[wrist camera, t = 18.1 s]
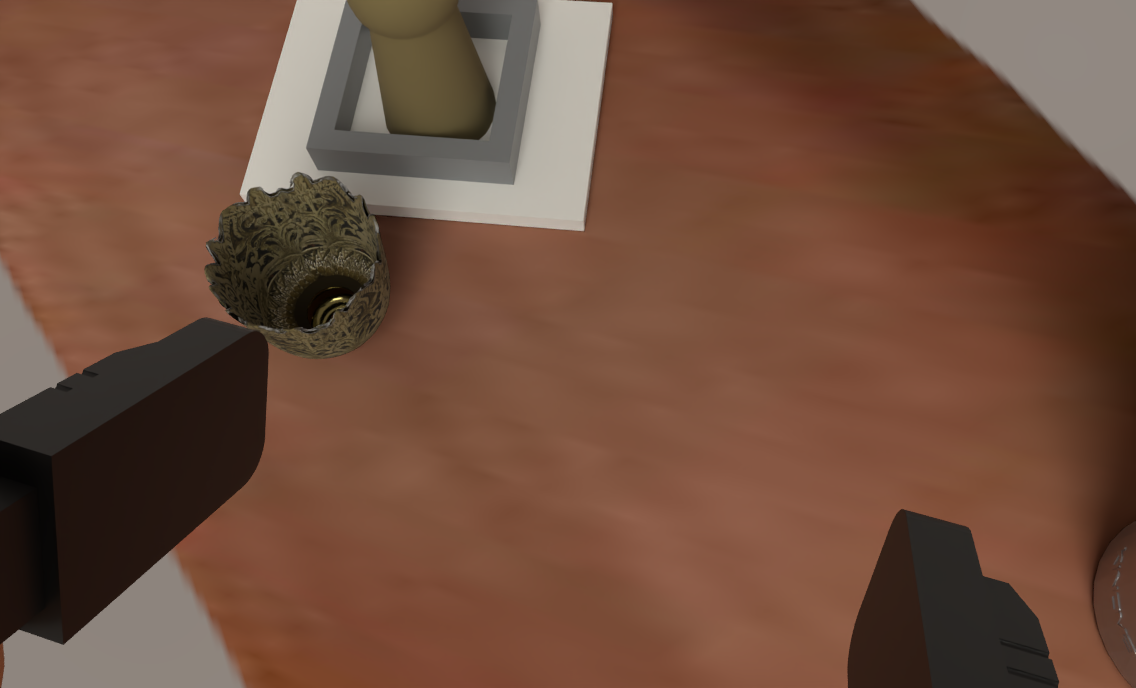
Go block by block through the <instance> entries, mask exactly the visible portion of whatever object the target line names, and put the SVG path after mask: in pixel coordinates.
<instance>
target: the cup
mask: <svg viewBox="0 0 1136 688" xmlns="http://www.w3.org/2000/svg"><path fill="white" fill-rule="evenodd" d="M290 180H291V181H290V183H291V184H290V187H291V186H292V185H293V187H291V188H290V187H289V188H288V189H285V188H278V189H277V190H276V192H274V193H271V194H269V193H267V192H265V191H264V190H263V188H262V187H260V186H259V187H254V188H251V189H249V190H248V192H247V196H246V202H238V203H235V204H233V205H231V206H229V207H227V208H226V209H225V210H223V211H222V212H221V214H220V219H219V228H218V229H219V237H218V240H219V241H218V240H216V241H215V240H214V239H215V238H213V239H212V240H209V241H208V242H206V248H207V250H208V251H209V253H210V254H211V256H212V257H213V259H214V261H215V262H216V263H210V264H208V265H206V266H205V275H206V278H207V280H208V282H210V283H211V284H212V285H210V286H209V289H210V290H211V292H212V293H213V294H214V295H215V297H216V298H217V299H218V300H219V302H220V304H221V305H222V306H223V307H225V308H226V310H225V311H226V312H227V313H228V314H229V315H230V316H231V317H233V318H234V319H236V320H237V321H239V322H240V323H242V324H243V325H244V326H246V327H247V328H249V329H252V330H255V331H259V332H261V333H262V334H263V335H264V336H265V338H266V340H267V342H269V343H270V344H272V345H274V346H275V347H277V348H279V349H281V350H283V351H285V352H287V353H290V354H293V355H296V356H299V357H303V358H310V359H325V358H332V357H337V356H340V355H343V354H346V353H348V352H350V351H353V350H355V349H357V348H358V347H360V346H361V345H362V344H363V343H365V342H366V341H367V340H368V339H369V338H370V337H371V336H372V335H373V334H374V333H375V331H376V330H377V329H378V327H379V326H380V324H381V322H382V320H383V318H384V316H385V314H386V311H387V308H388V304H389V298H390V277H389V270H388V265H387V260H386V256H385V252H384V248H383V244H382V240H381V237H380V232H379V226H378V223H377V220H376V218H375V216H374V214H371V215H370V213H369V210H368V208H367V205H366V202H365V199H364V198H363V196H361V195H360V194H359V195H357V196H356V195H355V196H353V195H352V194H351V192H350V191H349V190H348V189H347V187H346V186H345V185H344V184H343V183H341V182H340V181H339V180H338V179H337V178H335V177H333V176H324V177H321V178H318V179H315V180H313V179H312V178H311V177H310V176H309V175H307V174H304V173H301V172H296V173H295V174H293V175H292V178H291V179H290ZM334 312H335V313H334ZM333 313H334V315H333V318H331V319H330V321H329V322H327V321H328V319H329V317H330V316H331V315H332V314H333Z"/></svg>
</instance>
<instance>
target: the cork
mask: <svg viewBox="0 0 1136 688" xmlns="http://www.w3.org/2000/svg"><path fill="white" fill-rule="evenodd" d="M458 1H459V0H347V2H348V5H349V6H350V8H351V9H352V11H353V12H354V14H355V16H356V17H357V18H358V20H359V21H360V22H361V23H362V24H363V25H364V26H365V27H367V28H368V29H369V31H370V36H371V42H372V48H373V53H374V59H375V65H376V70H377V76H378V82H379V87H380V93H381V99H382V104H383V110H384V116H385V122H386V127H387V129H388V131H389V133H390V134H400V135H414V136H428V137H442V138H456V139H470V140H480V139H481V138H482V137H483V136H484V135H485V134H486V133H487V131H488V129H489V128H490V126H491V124H492V122H493V117H494V112H495V106H496V100H495V96H494V91H493V88H492V86H491V84H490V81H489V79H488V77H487V74H486V72H485V70H484V67H483V65H482V63H481V60H480V58H479V56H478V53H477V51H476V48H475V46H474V44H473V41H472V39H471V37H470V34H469V32H468V30H467V27H466V25H465V23H464V20H463V18H462V16H461V13H460V11H459V8H458V6H457V5H458Z"/></svg>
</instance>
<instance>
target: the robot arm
mask: <svg viewBox="0 0 1136 688" xmlns="http://www.w3.org/2000/svg"><path fill="white" fill-rule="evenodd" d="M268 356H269V355H268V343H267V340H266V338H265V336H264V335H263V334H262V333H261V332H259V331H255V330H252V329H248V328H244V327H241V326H237V325H233V324H230V323H226V322H222V321H219V320H215V319H211V318H201V319H199V320H197V321H195V322H193V323H191V324H189V325H188V326H186V327H184V328H182V329H180V330H179V331H177V332H175V333H173V334H171V335H169V336H168V337H166V338H164V339H162V340H160V341H159V342H155V343H151V344H147V345H143V346H140V347H136V348H132V349H128V350H124V351H120V352H116V353H114V354H112V355H110V356H108V357H106V358H104V359H102V360H101V361H99V362H97V363H95V364H93V365H91V366H89V367H87V368H85V369H84V370H83V373H82V374H78V373H76V374H74V375H72V376H70V377H69V378H67V379H65V380H63V381H61V382H59V383H57V387H56V388H55V389H54V388H48V389H46V390H44V391H42V392H40V393H39V394H37V395H35V396H33V397H31V398H29V399H28V400H25V401H24V402H22V403H20V404H18V405H16V406H14V407H13V408H11V409H9V410H7V411H5V412H3V413H1V414H0V688H1V685H2V678H3V672H4V650H3V642H4V641H5V640H6V639H7V638H9V637H10V636H11V635H12V634H13V633H15V632H16V631H17V630H22V631H25V632H28V633H31V634H34V635H37V636H39V637H42V638H45V639H48V640H51V641H54V642H57V643H60V644H63V645H64V644H65V643H66V642H67V641H68V640H69V639H70V638H72V637H73V636H74V635H75V634H76V633H77V632H78V631H79V630H81V629H82V628H83V627H84V626H85V625H86V624H87V623H89V622H90V621H91V620H92V619H93V618H94V617H95V616H97V614H99V613H100V612H101V611H102V610H103V609H104V608H106V607H107V606H108V605H109V604H110V603H111V602H112V601H113V600H115V599H116V598H117V597H118V596H119V595H120V594H122V593H123V592H124V591H125V590H126V589H127V588H128V587H129V586H130V585H132V584H133V583H134V582H135V581H136V580H137V579H138V578H140V577H141V576H142V575H143V574H144V573H145V572H146V571H147V570H149V569H150V568H151V567H152V566H153V565H154V564H155V563H157V562H158V561H159V560H160V559H161V558H162V557H164V556H165V555H166V554H167V553H168V552H169V551H170V550H171V549H173V548H174V547H175V546H176V545H177V544H178V543H179V542H181V541H182V540H183V539H184V538H185V537H186V536H187V535H189V534H190V533H191V532H192V531H193V530H194V529H195V528H196V527H198V526H199V525H200V524H201V523H202V522H203V521H204V520H206V519H207V518H208V517H209V516H210V515H211V514H212V513H213V512H215V511H216V510H217V509H218V508H219V507H220V506H221V505H223V504H224V503H225V502H226V501H227V500H228V499H229V498H231V497H232V496H233V495H234V494H235V493H236V492H237V491H238V490H240V489H241V488H242V487H243V486H244V485H245V484H246V483H247V482H248V480H249V479H250V478H251V476H252V475H253V473H254V471H255V470H256V468H257V465H258V463H259V461H260V458H261V455H262V451H263V447H264V442H265V425H266V402H267V379H268ZM1094 610H1095V615H1096V620H1097V625H1098V630H1099V632H1100V635H1101V637H1102V640H1103V642H1104V645H1105V647H1106V650H1107V652H1108V654H1109V656H1110V657H1111V659H1112V660H1113V662H1114V664H1115V665H1116V667H1117V668H1118V670H1119V671H1120V673H1121V675H1122V676H1123V677H1124V678H1125V679H1126V681H1127V682H1128V683H1129V684H1130V685H1131V686H1132V687H1133V688H1136V521H1135V522H1133V523H1131V524H1130V525H1128V526H1126V527H1125V528H1123V529H1122V531H1121V532H1120V533H1119V534H1118V535H1117V536H1116V537H1115V538H1114V539H1113V540H1112V541H1111V542H1110V543H1109V545H1108V547H1107V549H1106V550H1105V552H1104V554H1103V556H1102V558H1101V559H1100V561H1099V565H1098V569H1097V573H1096V577H1095V581H1094ZM1048 656H1049V650H1048V647H1047V644H1046V641H1045V638H1044V635H1043V632H1042V629H1041V626H1040V623H1039V620H1038V618H1037V617H1036V615H1035V614H1034V613H1033V612H1032V611H1031V609H1030V608H1029V607H1028V606H1027V605H1026V603H1025V602H1024V601H1023V600H1022V599H1021V598H1020V596H1019V595H1018V594H1017V593H1016V592H1015V590H1014V589H1013V588H1012V587H1011V586H1010V584H1009V583H1005V582H1002V581H998V580H995V579H991V578H988V577H984V576H983V575H982V571H981V568H980V564H979V560H978V556H977V553H976V549H975V545H974V541H973V537H972V534H971V531H970V529H969V528H968V527H966V526H962V525H959V524H955V523H951V522H948V521H944V520H940V519H937V518H933V517H929V516H926V515H922V514H918V513H915V512H911V511H907V510H904V509H901V510H900V511H899V512H898V513H897V514H896V516H895V518H894V520H893V522H892V524H891V527H890V529H889V532H888V534H887V537H886V540H885V543H884V545H883V548H882V551H881V553H880V556H879V559H878V561H877V564H876V567H875V570H874V572H873V575H872V578H871V580H870V583H869V586H868V589H867V591H866V594H865V597H864V599H863V602H862V605H861V608H860V610H859V613H858V616H857V619H856V622H855V626H854V630H853V634H852V638H851V643H850V649H849V657H848V688H1058V683H1059V680H1058V677H1057V674H1056V671H1055V668H1054V665H1053V662H1052V660H1051V659H1048Z"/></svg>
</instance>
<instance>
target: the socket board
mask: <svg viewBox="0 0 1136 688" xmlns="http://www.w3.org/2000/svg"><path fill="white" fill-rule="evenodd" d="M457 6H458V8H459V11H460V13H461V16H462V18H463V20H464V23H465V25H466V27H467V30H468V32H469V34H470V37H471V39H472V41H473V44H474V46H475V48H476V51H477V53H478V56H479V58H480V60H481V63H482V65H483V67H484V70H485V72H486V74H487V77H488V79H489V81H490V84H491V86H492V88H493V91H494V96H495V100H496V106H495V112H494V117H493V122H492V124H491V126H490V128H489V129H488V131H487V133H486V134H485V135H484V136H483V137H482V138H481V139H480V140H470V139H456V138H442V137H428V136H414V135H400V134H390V133H389V131H388V129H387V127H386V122H385V116H384V110H383V104H382V99H381V93H380V87H379V82H378V76H377V70H376V65H375V59H374V53H373V48H372V42H371V36H370V31H369V29H368V28H367V27H365V26H364V25H363V24H362V23H361V22H360V21H359V20H358V18H357V17H356V16H355V14H354V12H353V11H352V9H351V8H350V6H349V5H348V2H347V0H297V2H296V5H295V9H294V12H293V16H292V19H291V22H290V26H289V29H288V33H287V36H286V39H285V43H284V46H283V49H282V53H281V56H280V60H279V63H278V66H277V70H276V73H275V76H274V80H273V83H272V87H271V90H270V93H269V97H268V100H267V104H266V107H265V110H264V114H263V117H262V120H261V124H260V127H259V131H258V134H257V137H256V141H255V144H254V147H253V151H252V154H251V158H250V161H249V164H248V168H247V171H246V175H245V178H244V181H243V185H242V188H241V191H240V195H241V197H242V198H243V200H244V201H245V202H246V196H247V192H248V190H249V189H251V188H254V187H259V186H260V187H262V188H263V190H264V191H265V192H267V193H269V194H271V193H274V192H276V190H277V189H278V188H285V189H288V188H289V187H290V184H291V183H290V181H291V180H290V179H291V178H292V175H293V174H295V173H296V172H301V173H304V174H307V175H309V176H310V177H311V178H312V179H313V180H315V179H318V178H321V177H324V176H333V177H335V178H337V179H338V180H339V181H340V182H341V183H343V184H344V185H345V186H346V187H347V189H348V190H349V191H350V192H351V194H352V195H353V196H355V195H356V196H357V195H359V194H360V195H361V196H363V198H364V199H365V202H366V205H367V208H368V210H369V213H370V214H375V215H387V216H400V217H413V218H425V219H438V220H450V221H463V222H476V223H488V224H501V225H513V226H526V227H539V228H551V229H564V230H576V231H584V229H585V221H586V214H587V206H588V199H589V191H590V183H591V176H592V168H593V161H594V153H595V146H596V138H597V130H598V123H599V115H600V108H601V100H602V92H603V85H604V77H605V70H606V62H607V55H608V47H609V39H610V32H611V24H612V17H613V9H612V3H604V2H585V1H567V0H459V1H458V5H457ZM291 187H293V185H292V186H291ZM291 187H290V188H291Z"/></svg>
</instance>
